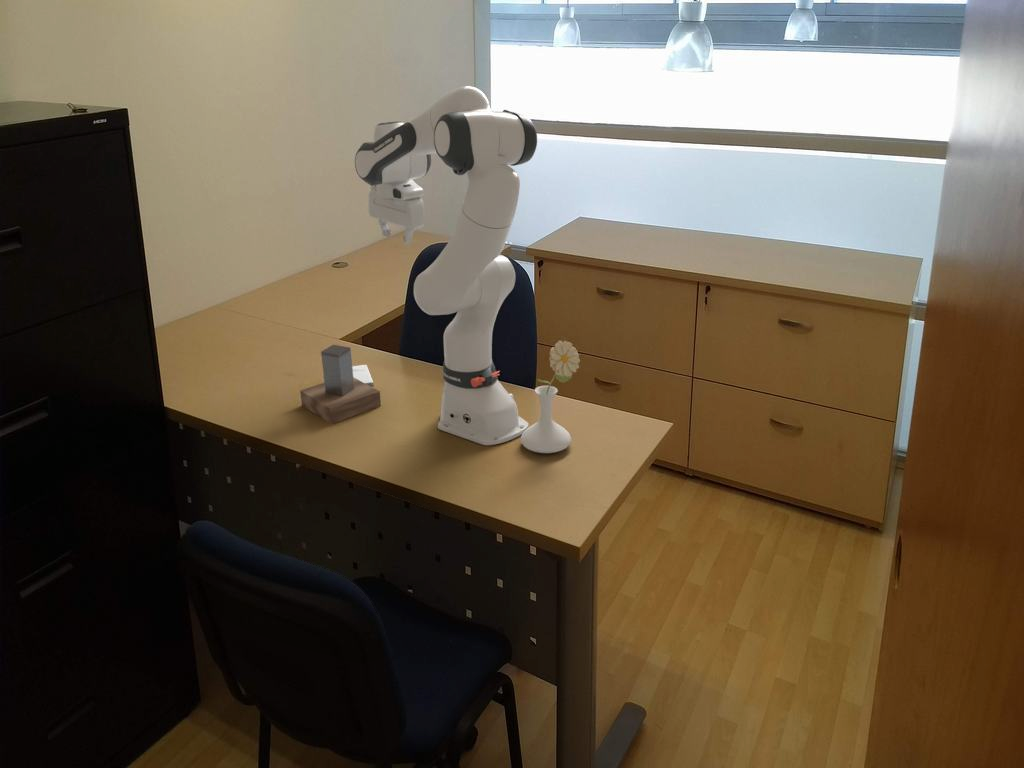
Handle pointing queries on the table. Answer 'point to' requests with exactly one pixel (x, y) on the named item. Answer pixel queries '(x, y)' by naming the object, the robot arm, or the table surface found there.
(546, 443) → the flower in vase
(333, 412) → the stand
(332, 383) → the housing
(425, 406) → the table surface
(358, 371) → the external hard drive
